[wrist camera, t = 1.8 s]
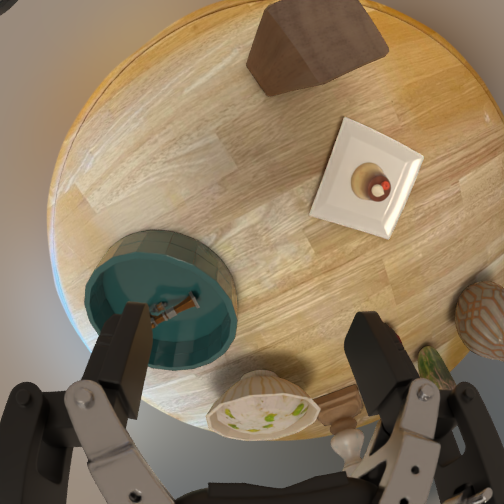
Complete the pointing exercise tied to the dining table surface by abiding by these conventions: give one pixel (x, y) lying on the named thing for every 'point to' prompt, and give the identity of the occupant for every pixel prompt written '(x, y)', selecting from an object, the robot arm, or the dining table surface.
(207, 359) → the teal bowl
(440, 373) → the vegetable
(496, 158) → the dining table surface
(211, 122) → the dining table surface
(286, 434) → the bowl
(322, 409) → the candle holder
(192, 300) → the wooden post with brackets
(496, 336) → the vase
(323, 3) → the wooden block
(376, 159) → the dessert
